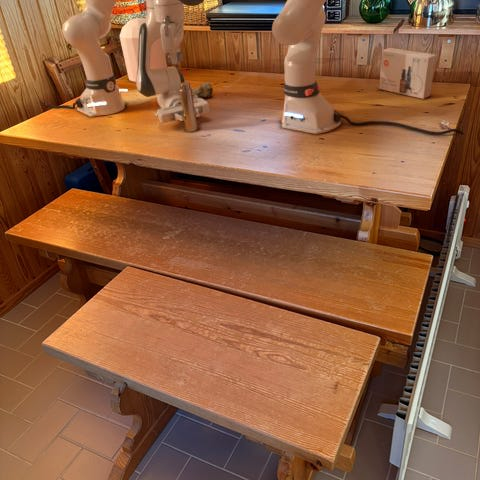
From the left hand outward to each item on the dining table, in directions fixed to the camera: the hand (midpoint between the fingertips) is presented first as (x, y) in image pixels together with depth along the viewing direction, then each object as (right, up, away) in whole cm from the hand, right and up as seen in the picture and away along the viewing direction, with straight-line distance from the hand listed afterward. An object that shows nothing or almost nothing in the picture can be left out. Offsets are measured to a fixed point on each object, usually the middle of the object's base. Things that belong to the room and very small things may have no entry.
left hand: (190, 116), depth 171 cm
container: (-30, +41, +72) cm, 88 cm away
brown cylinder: (0, -4, +3) cm, 5 cm away
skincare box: (+85, +14, +17) cm, 88 cm away
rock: (+1, +19, +36) cm, 40 cm away
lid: (-3, +13, -24) cm, 27 cm away
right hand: (-2, +12, -23) cm, 26 cm away
